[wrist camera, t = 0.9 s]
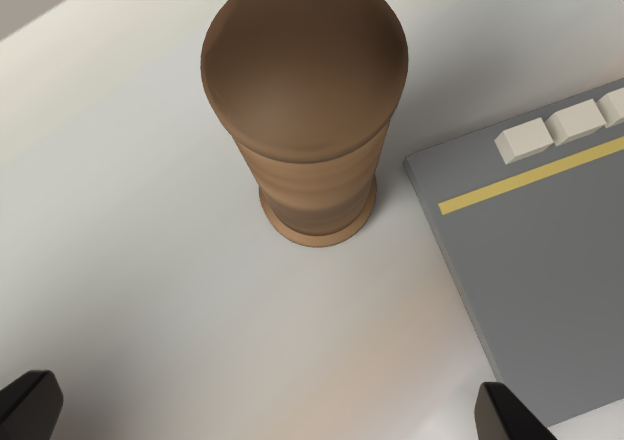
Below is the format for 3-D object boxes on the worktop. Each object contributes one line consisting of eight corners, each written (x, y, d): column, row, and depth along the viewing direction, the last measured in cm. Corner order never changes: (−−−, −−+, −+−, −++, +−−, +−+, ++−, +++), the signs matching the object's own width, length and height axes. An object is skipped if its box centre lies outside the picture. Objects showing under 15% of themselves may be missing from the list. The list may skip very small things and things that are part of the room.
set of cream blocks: (641, 115, 23) (658, 104, 22) (506, 164, 23) (515, 156, 21) (628, 92, 23) (644, 80, 22) (494, 140, 23) (502, 131, 22)
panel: (770, 332, 21) (794, 332, 20) (518, 429, 21) (528, 435, 20) (626, 82, 24) (639, 71, 23) (403, 162, 24) (406, 155, 23)
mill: (391, 224, 23) (458, 119, 11) (283, 263, 23) (228, 201, 11) (350, 123, 25) (369, -69, 12) (247, 160, 24) (162, 1, 12)
